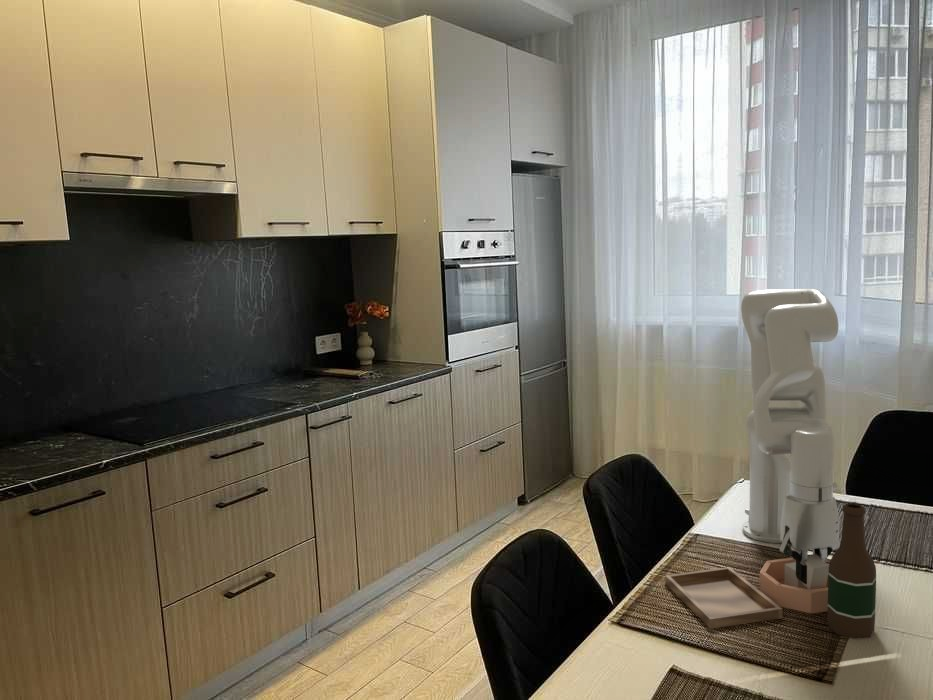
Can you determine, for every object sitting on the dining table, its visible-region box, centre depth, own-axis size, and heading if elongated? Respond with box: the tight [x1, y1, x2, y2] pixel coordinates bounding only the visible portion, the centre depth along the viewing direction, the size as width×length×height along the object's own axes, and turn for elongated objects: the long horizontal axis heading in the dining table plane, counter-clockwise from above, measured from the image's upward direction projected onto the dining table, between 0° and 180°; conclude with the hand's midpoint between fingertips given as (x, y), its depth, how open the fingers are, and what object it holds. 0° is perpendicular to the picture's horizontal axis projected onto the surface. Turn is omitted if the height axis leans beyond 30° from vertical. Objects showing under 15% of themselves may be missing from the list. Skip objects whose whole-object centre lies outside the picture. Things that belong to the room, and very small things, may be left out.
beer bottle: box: [826, 503, 877, 640], centre depth 130 cm, size 8×8×24 cm
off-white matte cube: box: [784, 562, 809, 590], centre depth 146 cm, size 4×4×5 cm
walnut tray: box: [664, 566, 783, 629], centre depth 144 cm, size 19×15×2 cm
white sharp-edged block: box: [802, 553, 829, 590], centre depth 141 cm, size 4×4×5 cm
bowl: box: [759, 557, 828, 614], centre depth 145 cm, size 15×15×5 cm
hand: (809, 579), depth 142 cm, fingers closed on white sharp-edged block, 2 cm apart
